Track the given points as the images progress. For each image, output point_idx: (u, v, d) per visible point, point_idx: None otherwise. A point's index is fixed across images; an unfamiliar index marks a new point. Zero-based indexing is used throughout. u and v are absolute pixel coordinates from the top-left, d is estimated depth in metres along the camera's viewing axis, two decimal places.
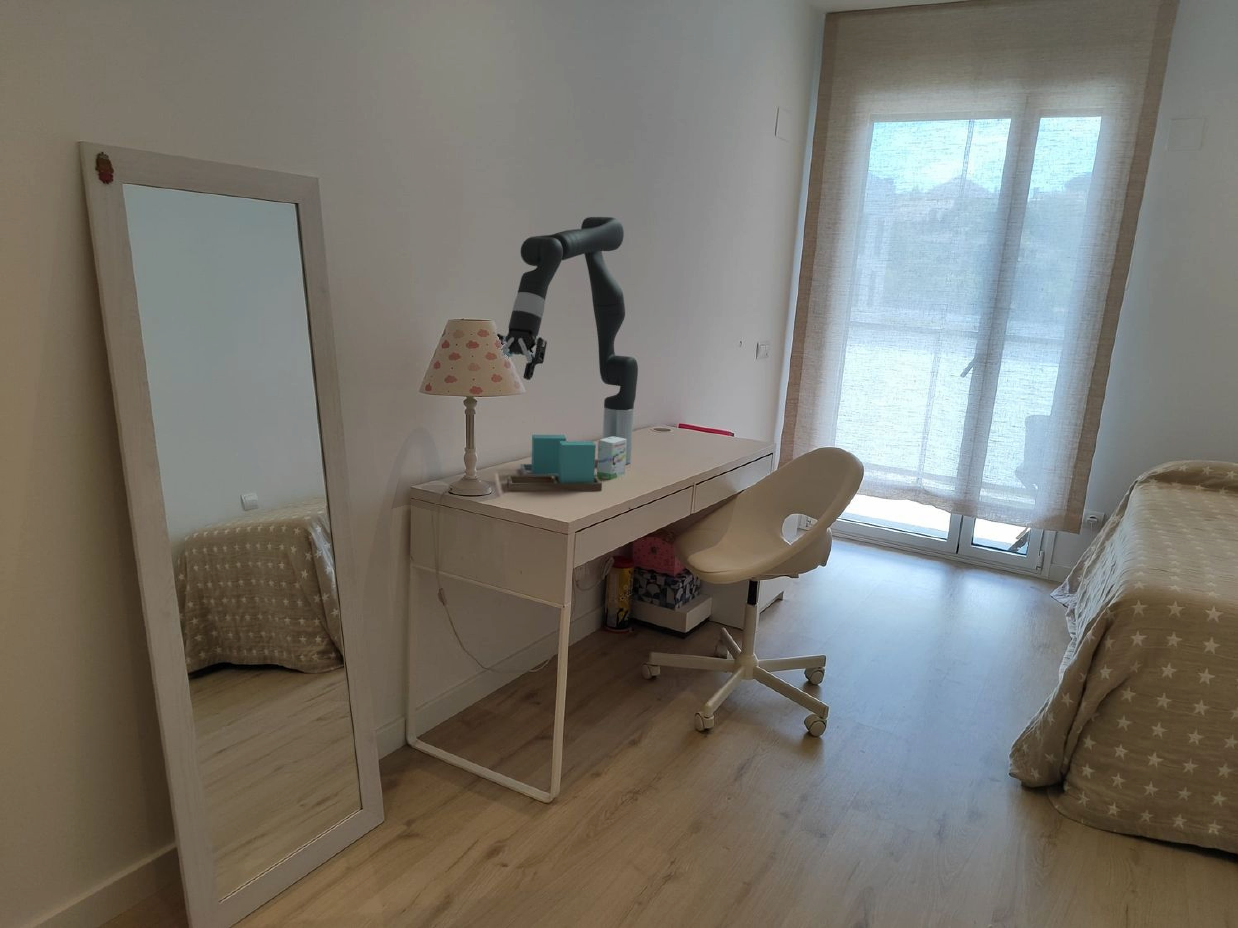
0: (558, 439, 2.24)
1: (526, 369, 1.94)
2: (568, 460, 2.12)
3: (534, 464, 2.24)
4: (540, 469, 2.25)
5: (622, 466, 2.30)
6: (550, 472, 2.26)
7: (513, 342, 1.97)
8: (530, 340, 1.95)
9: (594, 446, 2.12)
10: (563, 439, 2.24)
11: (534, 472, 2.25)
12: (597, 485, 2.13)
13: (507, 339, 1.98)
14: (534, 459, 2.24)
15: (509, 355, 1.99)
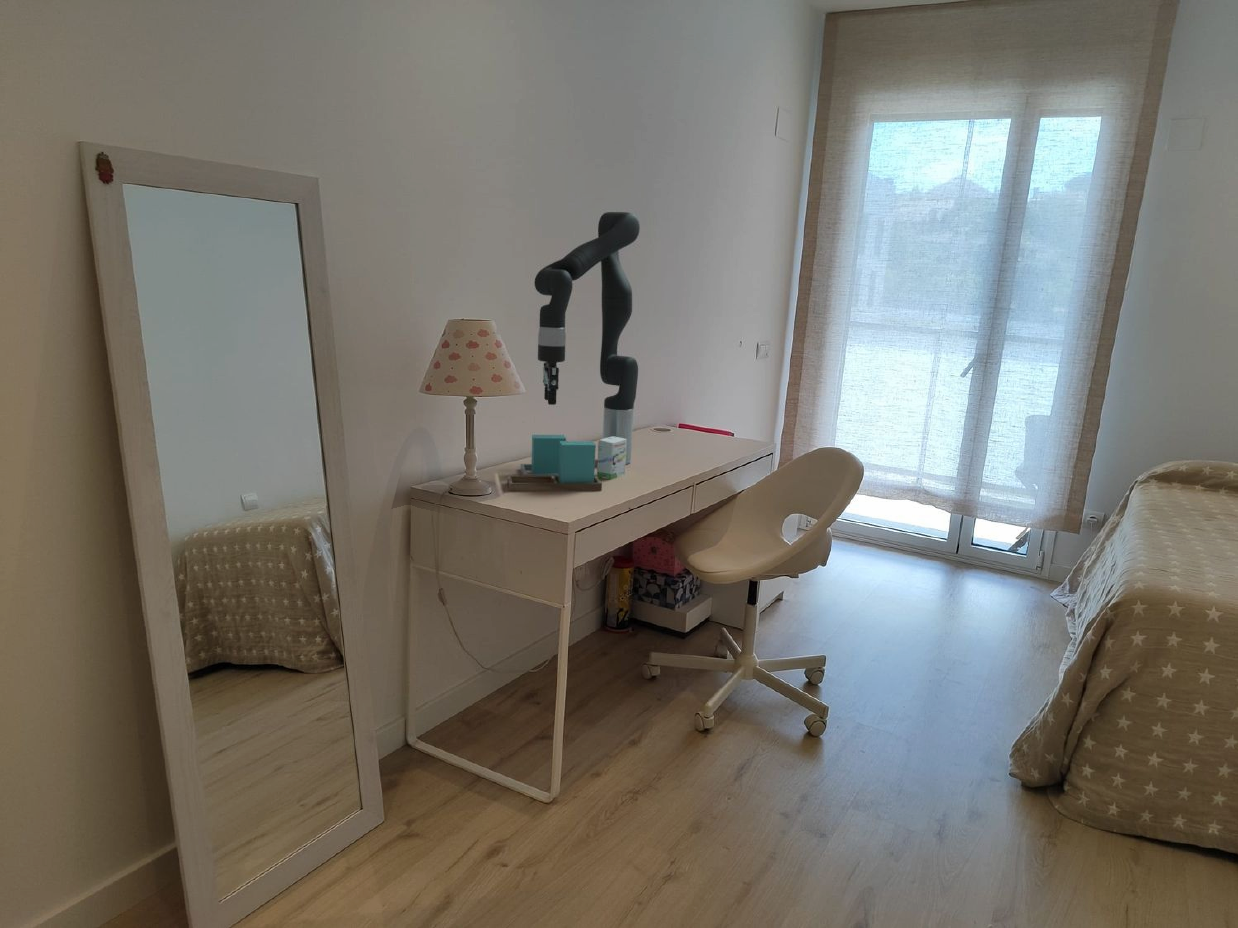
0: (558, 439, 2.24)
1: (548, 396, 2.19)
2: (568, 460, 2.12)
3: (534, 464, 2.24)
4: (540, 469, 2.25)
5: (622, 466, 2.30)
6: (550, 472, 2.26)
7: None
8: (548, 369, 2.18)
9: (594, 446, 2.12)
10: (563, 439, 2.24)
11: (534, 472, 2.25)
12: (597, 485, 2.13)
13: None
14: (534, 459, 2.24)
15: None
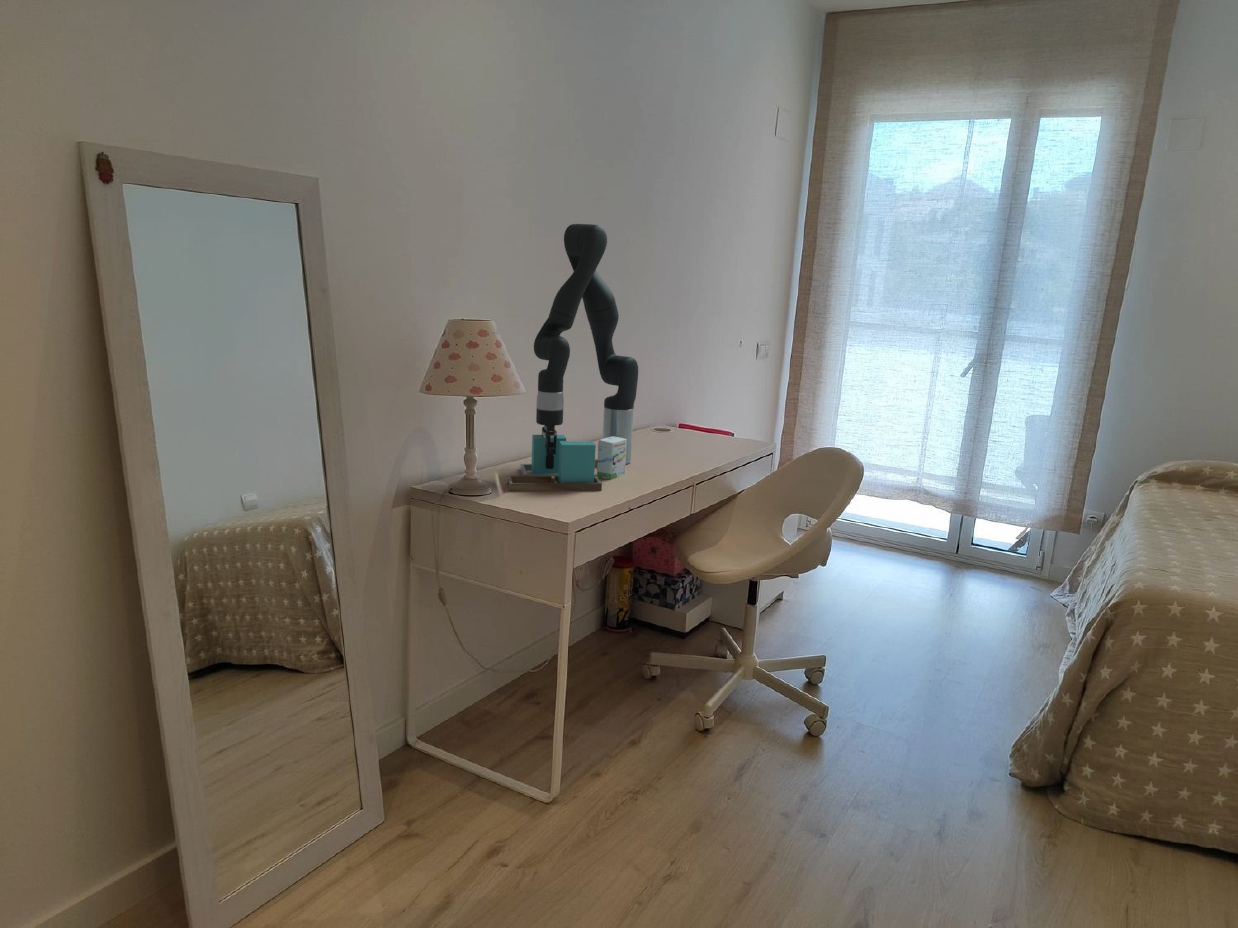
0: (558, 439, 2.24)
1: None
2: (568, 460, 2.12)
3: (534, 464, 2.24)
4: (541, 469, 2.25)
5: (622, 466, 2.30)
6: (550, 472, 2.26)
7: (543, 433, 2.26)
8: (546, 433, 2.22)
9: (594, 446, 2.12)
10: (563, 439, 2.24)
11: (534, 472, 2.25)
12: (597, 485, 2.13)
13: None
14: (534, 459, 2.24)
15: None
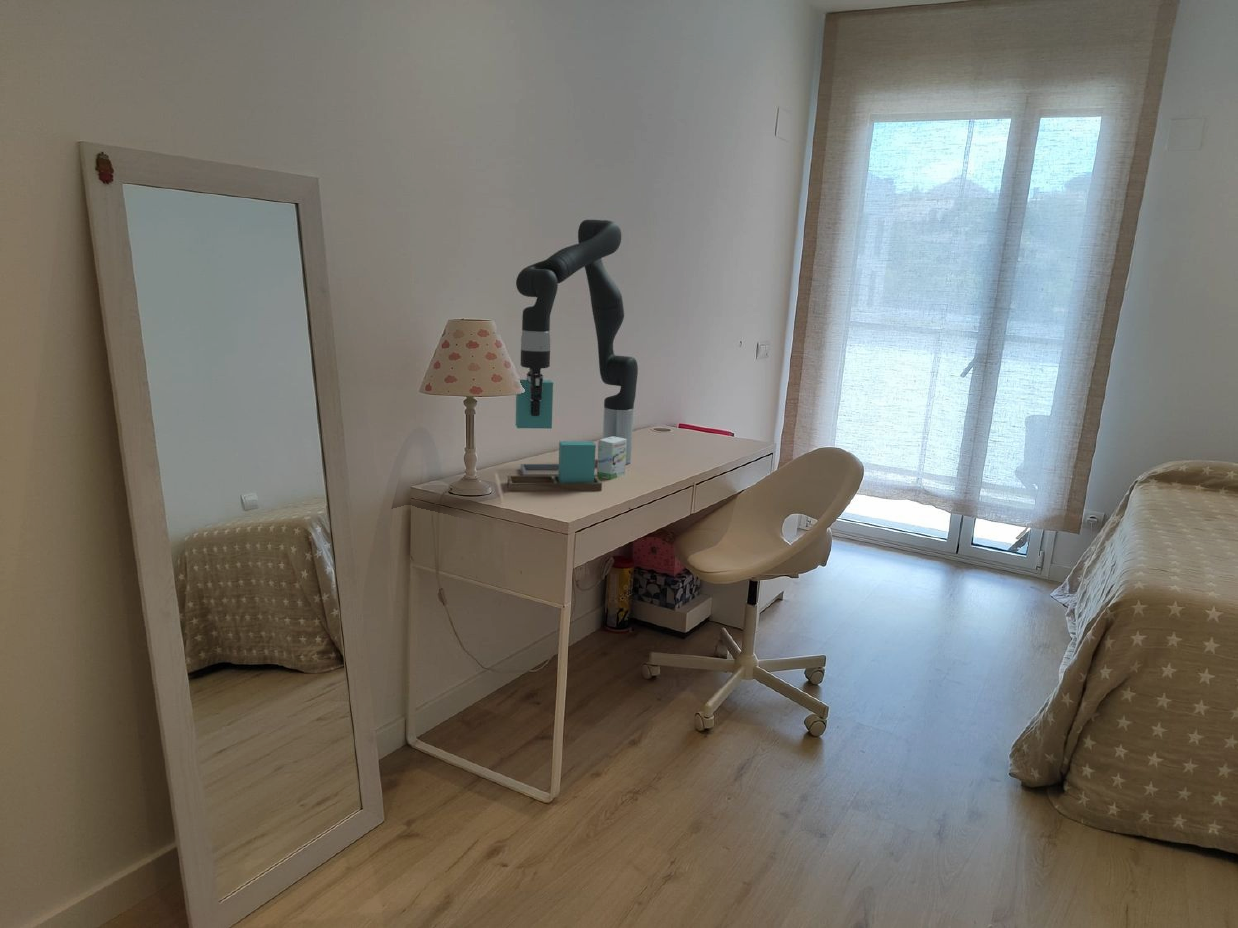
0: (544, 383, 2.06)
1: (531, 407, 2.06)
2: (568, 460, 2.12)
3: (518, 411, 2.06)
4: (525, 416, 2.07)
5: (622, 466, 2.30)
6: (536, 420, 2.07)
7: None
8: (532, 377, 2.04)
9: (594, 446, 2.12)
10: (550, 383, 2.06)
11: (518, 419, 2.06)
12: (597, 485, 2.13)
13: None
14: (518, 405, 2.05)
15: None
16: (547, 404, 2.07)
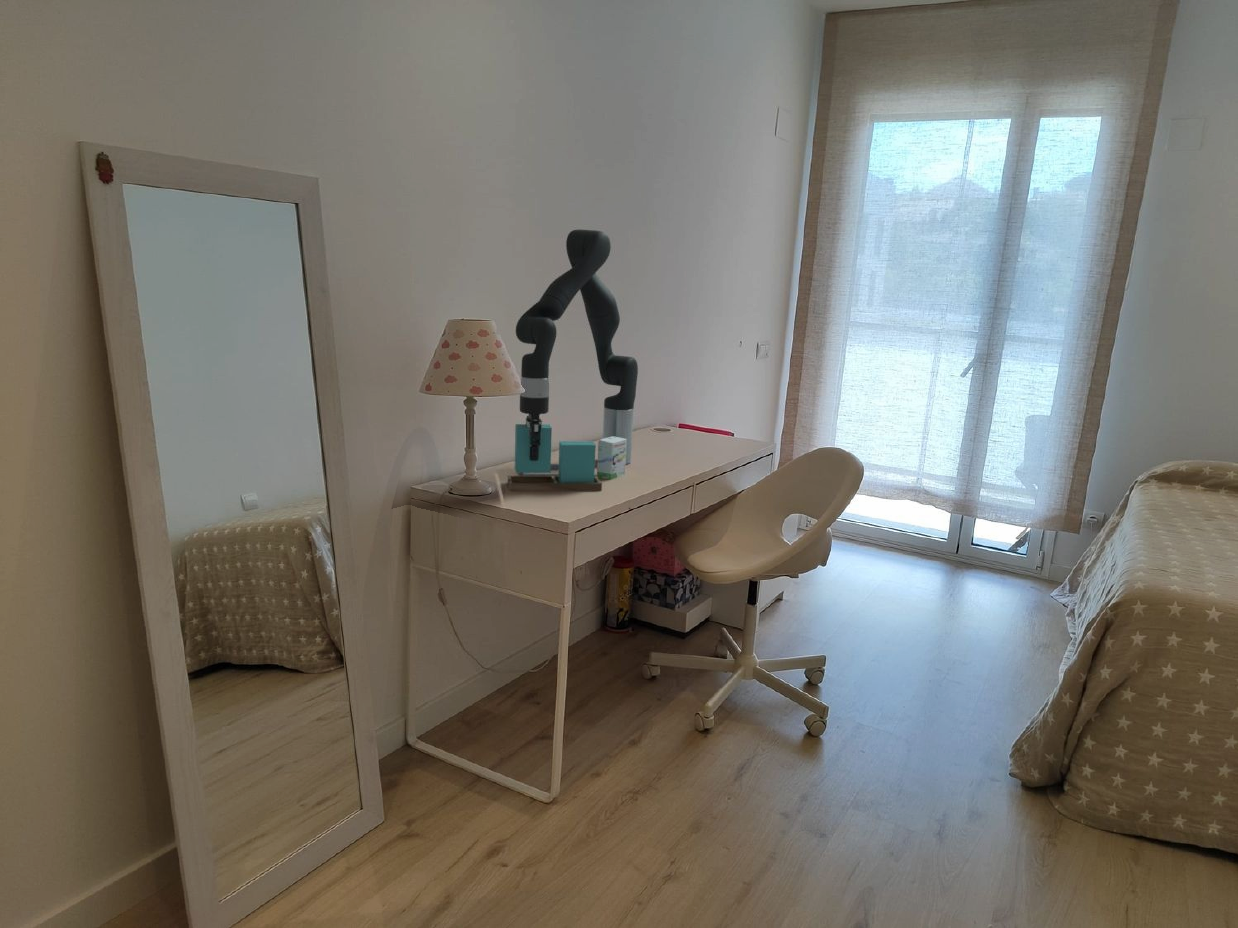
0: (543, 429, 2.08)
1: (530, 452, 2.08)
2: (568, 460, 2.12)
3: (517, 456, 2.08)
4: (524, 461, 2.09)
5: (622, 466, 2.30)
6: (534, 464, 2.10)
7: None
8: (530, 422, 2.06)
9: (594, 446, 2.12)
10: (548, 429, 2.08)
11: (517, 464, 2.09)
12: (597, 485, 2.13)
13: None
14: (517, 450, 2.08)
15: None
16: (546, 449, 2.10)
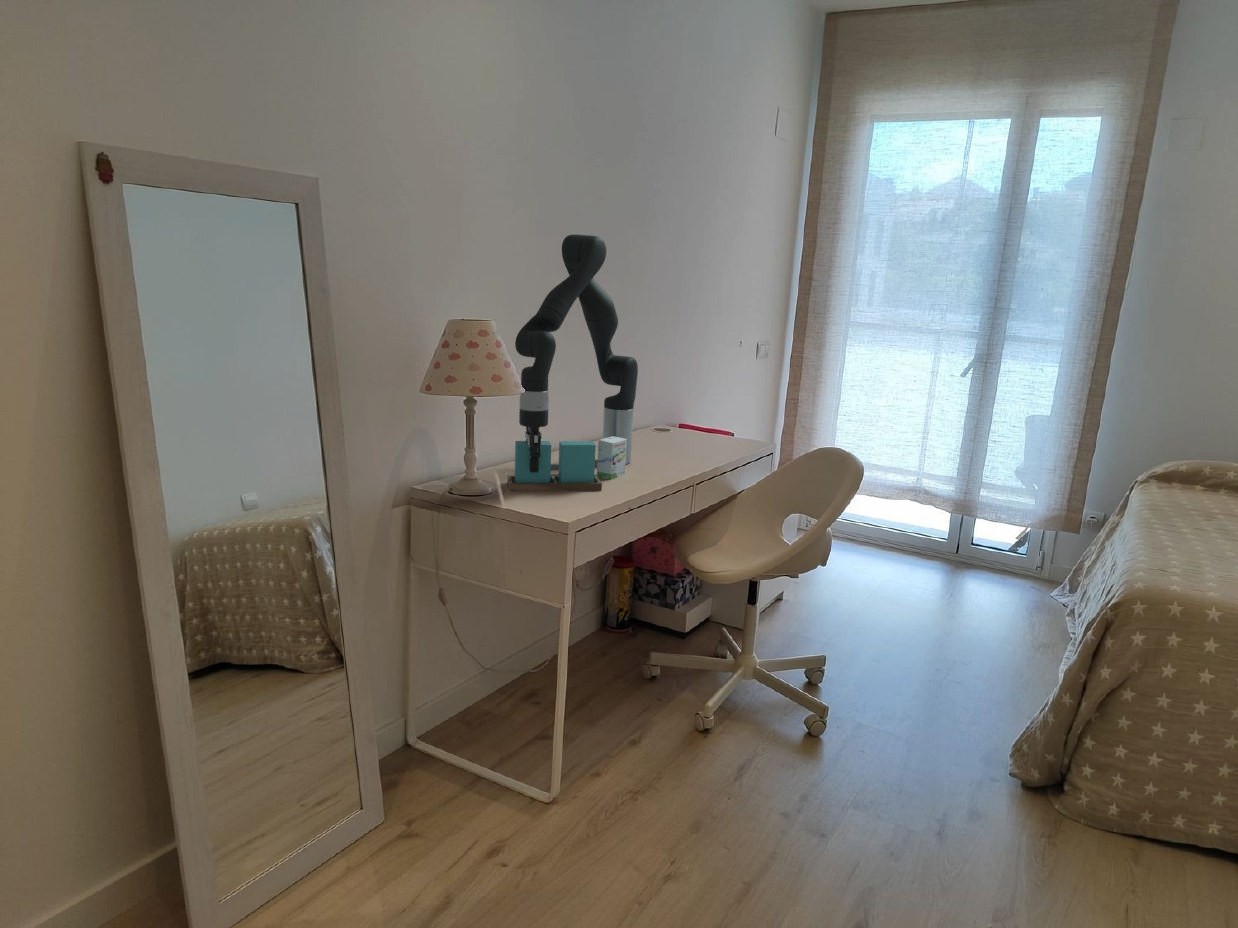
0: (543, 446, 2.09)
1: (530, 464, 2.08)
2: (568, 460, 2.12)
3: (517, 473, 2.10)
4: (524, 478, 2.10)
5: (622, 466, 2.30)
6: (534, 481, 2.11)
7: None
8: (530, 435, 2.07)
9: (594, 446, 2.12)
10: (548, 446, 2.10)
11: (517, 481, 2.10)
12: (597, 485, 2.13)
13: None
14: (517, 467, 2.09)
15: None
16: (545, 465, 2.11)
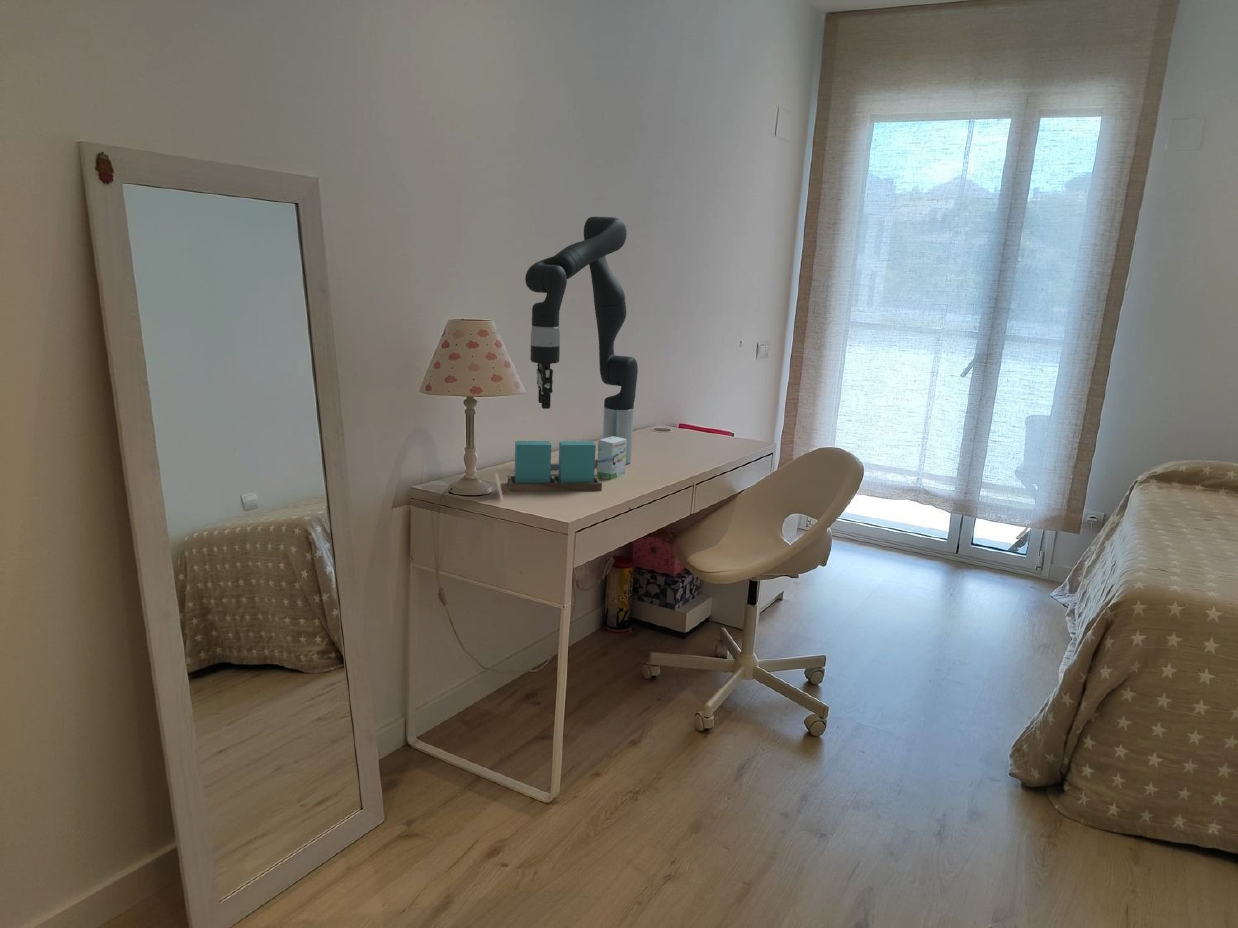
0: (543, 446, 2.09)
1: (541, 400, 2.06)
2: (568, 460, 2.12)
3: (517, 473, 2.10)
4: (524, 478, 2.10)
5: (622, 466, 2.30)
6: (534, 481, 2.11)
7: None
8: None
9: (594, 446, 2.12)
10: (548, 446, 2.10)
11: (517, 481, 2.10)
12: (597, 485, 2.13)
13: (539, 369, 2.12)
14: (517, 467, 2.09)
15: None
16: (545, 465, 2.11)
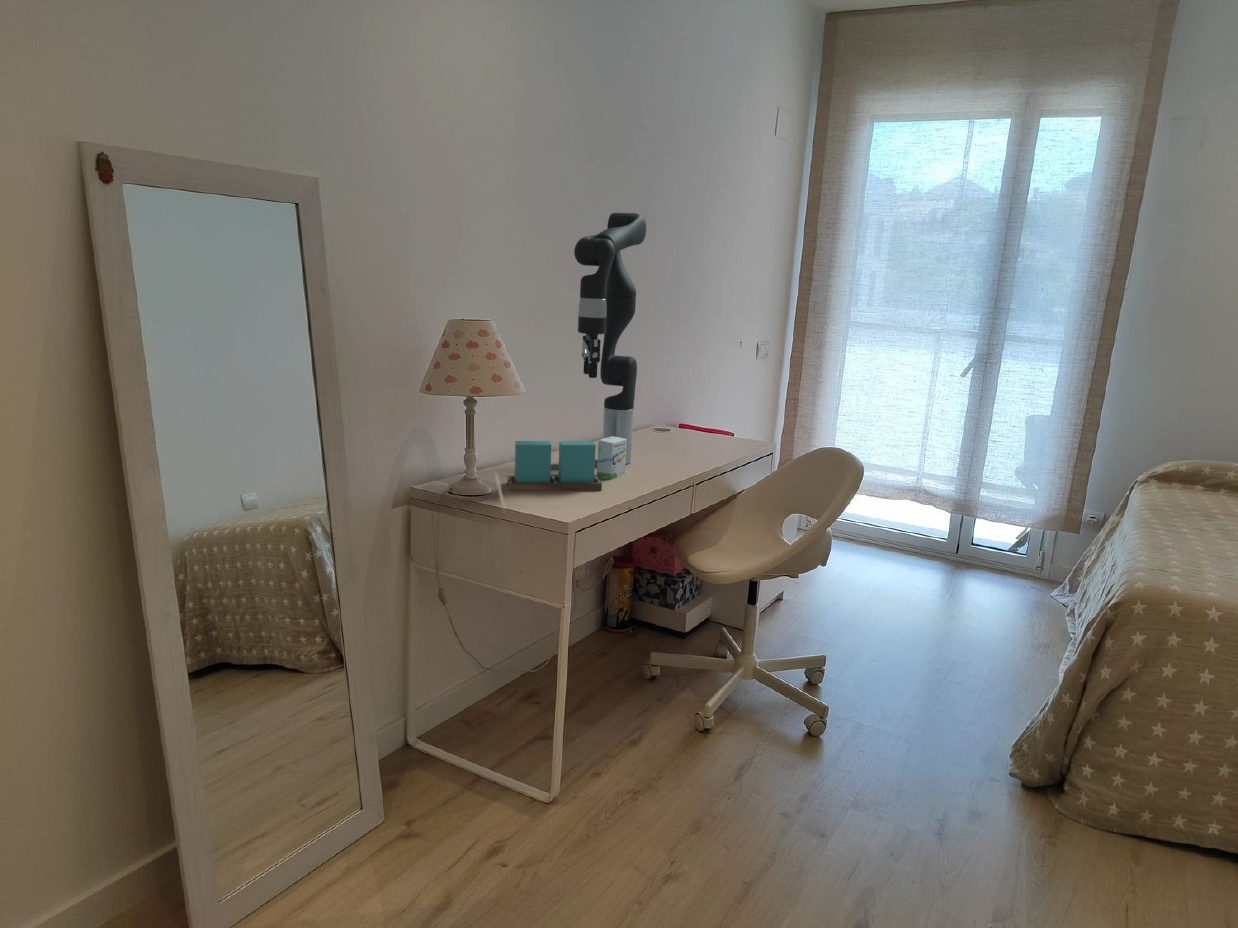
0: (543, 446, 2.09)
1: (589, 369, 2.13)
2: (568, 460, 2.12)
3: (517, 473, 2.10)
4: (524, 478, 2.10)
5: (622, 466, 2.30)
6: (534, 481, 2.11)
7: (585, 344, 2.17)
8: (589, 342, 2.12)
9: (594, 446, 2.12)
10: (548, 446, 2.10)
11: (517, 481, 2.10)
12: (597, 485, 2.13)
13: None
14: (517, 467, 2.09)
15: None
16: (545, 465, 2.11)
